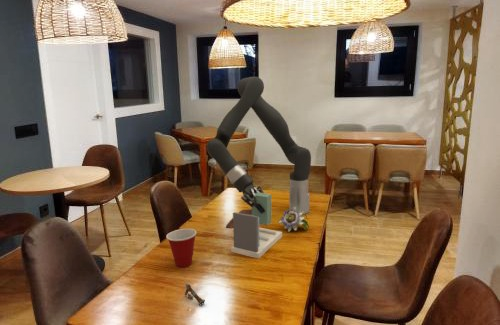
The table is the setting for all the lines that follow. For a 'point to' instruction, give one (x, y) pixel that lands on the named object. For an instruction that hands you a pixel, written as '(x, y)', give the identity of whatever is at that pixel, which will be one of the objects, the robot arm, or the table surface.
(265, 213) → the green book
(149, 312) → the table surface
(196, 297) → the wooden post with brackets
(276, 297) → the table surface
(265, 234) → the book rack
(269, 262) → the table surface
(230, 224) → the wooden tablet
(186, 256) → the plastic cup
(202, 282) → the table surface
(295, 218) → the passion flower
